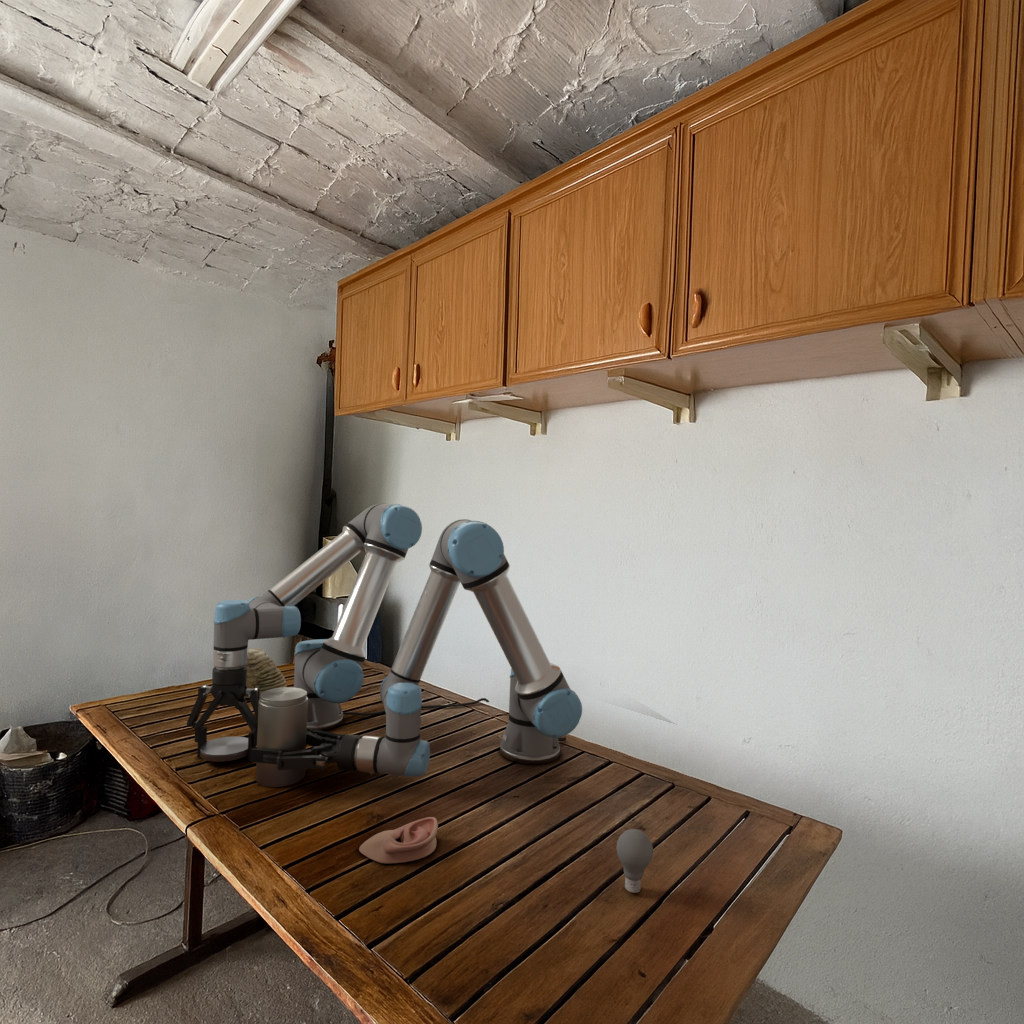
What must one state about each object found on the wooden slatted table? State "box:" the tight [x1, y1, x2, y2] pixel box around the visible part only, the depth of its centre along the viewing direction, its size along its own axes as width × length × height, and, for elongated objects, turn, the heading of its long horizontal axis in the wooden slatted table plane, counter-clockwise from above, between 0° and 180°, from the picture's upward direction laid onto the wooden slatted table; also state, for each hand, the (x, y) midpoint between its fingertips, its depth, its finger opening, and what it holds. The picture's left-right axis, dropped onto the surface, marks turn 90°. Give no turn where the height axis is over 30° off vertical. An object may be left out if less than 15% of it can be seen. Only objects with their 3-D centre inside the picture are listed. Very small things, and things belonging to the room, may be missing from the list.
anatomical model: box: [358, 816, 439, 864], centre depth 116 cm, size 13×4×12 cm
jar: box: [255, 686, 308, 788], centre depth 142 cm, size 10×10×19 cm
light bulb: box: [615, 828, 654, 894], centre depth 106 cm, size 6×6×10 cm
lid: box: [200, 735, 248, 763], centre depth 151 cm, size 11×11×2 cm
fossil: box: [244, 647, 288, 699], centre depth 198 cm, size 9×18×15 cm, turn 132°
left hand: (226, 757), depth 151 cm, fingers closed on lid, 11 cm apart
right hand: (264, 745), depth 143 cm, fingers closed on jar, 10 cm apart
